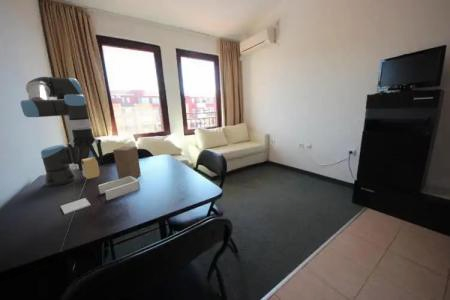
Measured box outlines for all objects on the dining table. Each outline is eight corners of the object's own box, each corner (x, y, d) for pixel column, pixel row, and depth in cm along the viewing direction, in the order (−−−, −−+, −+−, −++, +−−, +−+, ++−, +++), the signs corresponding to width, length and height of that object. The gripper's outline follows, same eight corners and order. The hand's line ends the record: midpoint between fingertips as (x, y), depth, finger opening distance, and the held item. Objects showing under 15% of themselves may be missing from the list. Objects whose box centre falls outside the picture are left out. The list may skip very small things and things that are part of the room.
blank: (84, 176, 95) (81, 159, 92) (96, 173, 98) (92, 157, 96) (87, 179, 91) (83, 161, 89) (99, 175, 95) (95, 158, 93)
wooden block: (131, 180, 121) (126, 150, 116) (118, 179, 123) (112, 149, 118) (141, 174, 131) (137, 146, 126) (128, 173, 133) (123, 146, 128)
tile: (60, 207, 91) (60, 205, 91) (85, 199, 98) (85, 197, 98) (64, 214, 85) (64, 213, 85) (90, 205, 92) (90, 204, 92)
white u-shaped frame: (100, 193, 104) (98, 185, 103) (131, 183, 116) (130, 175, 115) (107, 200, 96) (105, 191, 95) (140, 188, 108) (138, 180, 107)
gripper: (58, 131, 80) (70, 182, 86) (105, 126, 93) (113, 170, 99) (55, 130, 85) (67, 178, 91) (100, 125, 98) (108, 167, 104)
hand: (91, 174), depth 95 cm, fingers closed on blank, 5 cm apart
